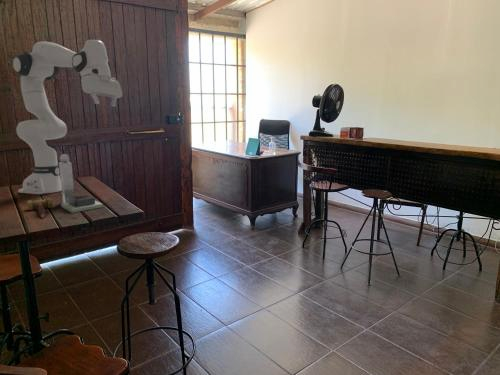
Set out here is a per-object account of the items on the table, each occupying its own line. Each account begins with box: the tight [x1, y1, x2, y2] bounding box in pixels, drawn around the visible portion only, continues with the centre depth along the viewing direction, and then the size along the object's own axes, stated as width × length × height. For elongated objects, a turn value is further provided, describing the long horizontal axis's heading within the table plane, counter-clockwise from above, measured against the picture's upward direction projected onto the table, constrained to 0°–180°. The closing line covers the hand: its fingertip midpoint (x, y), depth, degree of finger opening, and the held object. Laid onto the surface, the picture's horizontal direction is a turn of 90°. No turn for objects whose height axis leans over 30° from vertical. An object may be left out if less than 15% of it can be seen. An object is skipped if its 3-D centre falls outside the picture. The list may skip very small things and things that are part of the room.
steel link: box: [58, 153, 75, 203], centre depth 185 cm, size 4×4×24 cm
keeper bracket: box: [60, 192, 104, 214], centre depth 180 cm, size 14×14×7 cm
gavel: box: [26, 197, 54, 219], centre depth 171 cm, size 21×5×10 cm
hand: (105, 104), depth 174 cm, fingers open, 8 cm apart
